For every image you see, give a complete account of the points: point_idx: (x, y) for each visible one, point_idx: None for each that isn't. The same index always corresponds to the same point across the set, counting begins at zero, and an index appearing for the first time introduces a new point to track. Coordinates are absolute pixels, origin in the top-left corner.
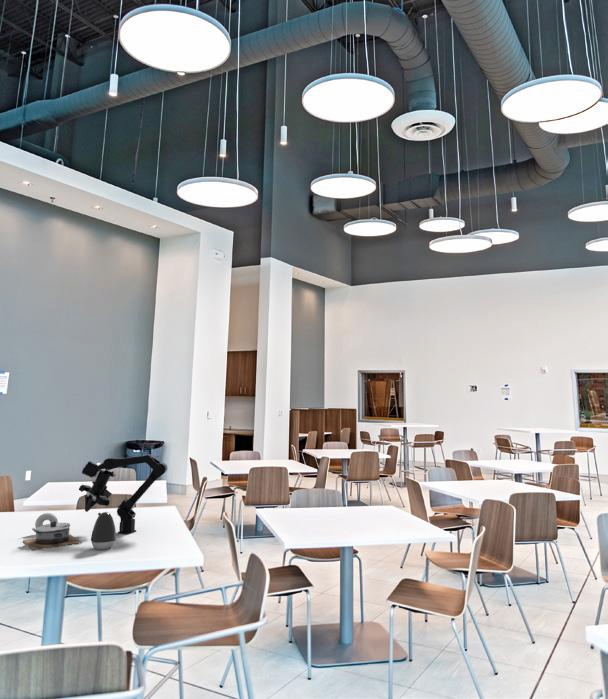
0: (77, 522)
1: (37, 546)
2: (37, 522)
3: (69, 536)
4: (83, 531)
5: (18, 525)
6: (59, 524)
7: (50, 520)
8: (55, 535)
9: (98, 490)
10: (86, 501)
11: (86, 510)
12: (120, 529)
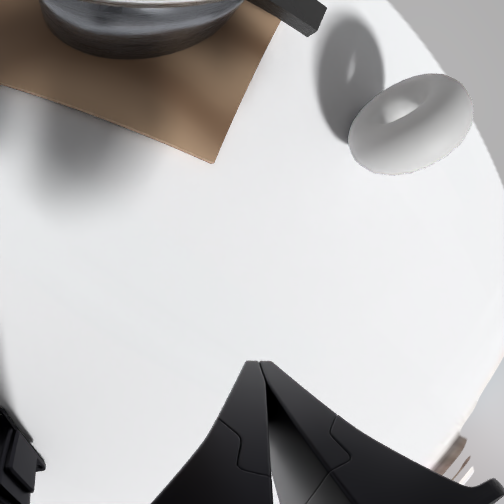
0: (404, 381)
1: None
2: (426, 74)
3: (141, 105)
4: (233, 309)
5: (493, 209)
6: None
7: (407, 114)
8: None
9: None
10: (326, 460)
11: (241, 371)
12: (4, 434)
